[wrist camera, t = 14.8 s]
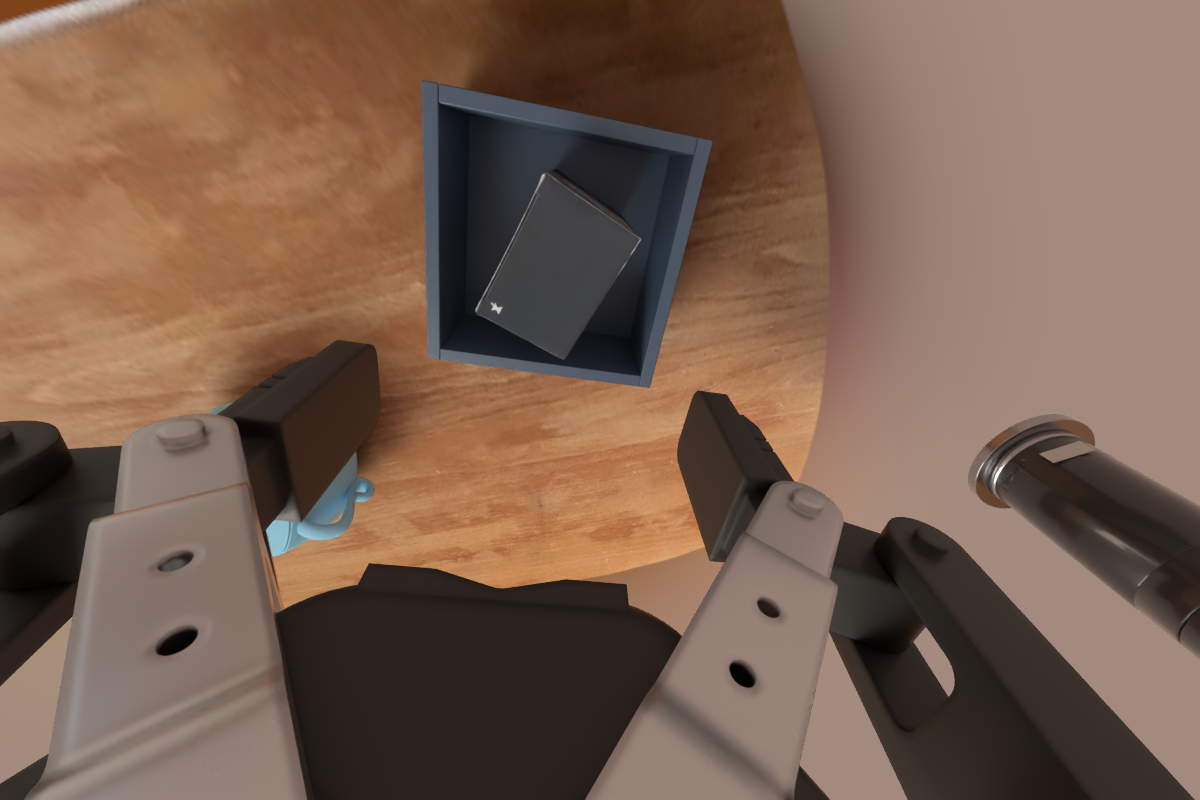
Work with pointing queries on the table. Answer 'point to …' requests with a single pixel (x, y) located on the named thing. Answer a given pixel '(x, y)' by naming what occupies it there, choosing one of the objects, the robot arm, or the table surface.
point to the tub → (499, 200)
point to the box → (558, 265)
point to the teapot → (321, 509)
